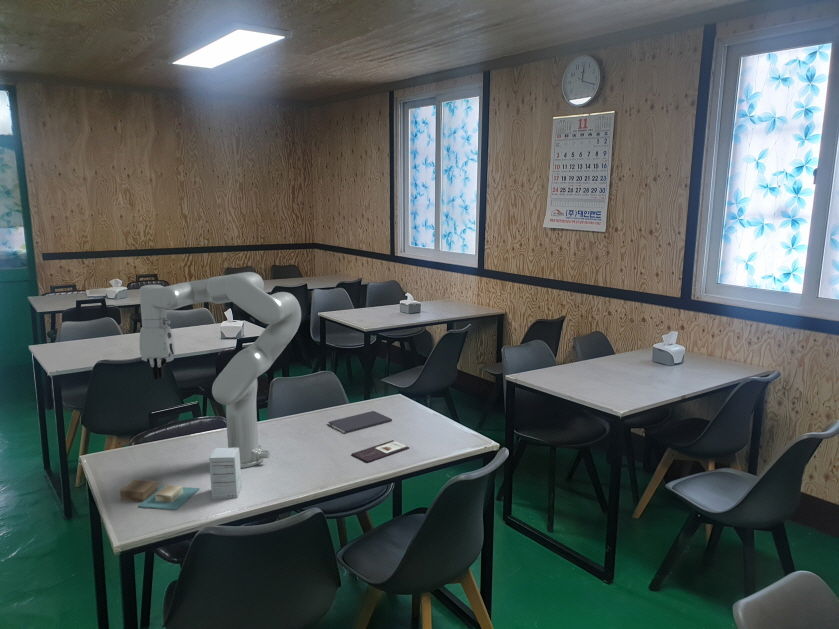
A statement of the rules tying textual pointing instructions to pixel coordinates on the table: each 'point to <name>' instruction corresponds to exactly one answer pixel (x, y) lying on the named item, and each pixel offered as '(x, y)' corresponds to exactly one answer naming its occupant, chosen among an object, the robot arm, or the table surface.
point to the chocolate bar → (379, 451)
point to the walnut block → (138, 490)
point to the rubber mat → (174, 505)
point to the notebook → (359, 422)
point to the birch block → (169, 493)
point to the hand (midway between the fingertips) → (159, 377)
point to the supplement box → (225, 473)
